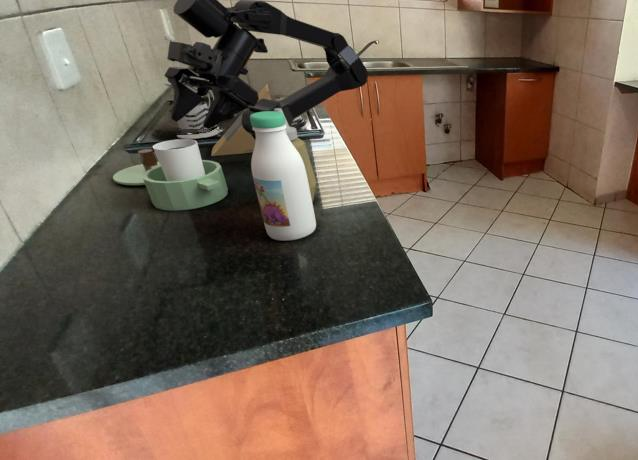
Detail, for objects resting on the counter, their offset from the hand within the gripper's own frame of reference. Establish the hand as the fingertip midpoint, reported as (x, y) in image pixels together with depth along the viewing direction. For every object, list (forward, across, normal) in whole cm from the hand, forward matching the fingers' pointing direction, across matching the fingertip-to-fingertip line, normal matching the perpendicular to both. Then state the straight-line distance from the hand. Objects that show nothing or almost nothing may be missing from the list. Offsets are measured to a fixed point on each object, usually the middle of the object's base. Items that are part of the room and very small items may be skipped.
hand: (189, 123), depth 79 cm
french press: (-7, -40, +27) cm, 48 cm away
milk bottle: (+12, +27, +7) cm, 31 cm away
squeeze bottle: (+6, +18, +13) cm, 24 cm away
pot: (+12, 0, +7) cm, 14 cm away
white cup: (+12, 0, +7) cm, 14 cm away
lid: (+10, -17, +9) cm, 21 cm away
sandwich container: (-6, -18, +25) cm, 31 cm away
